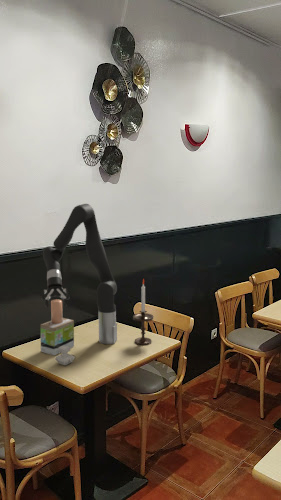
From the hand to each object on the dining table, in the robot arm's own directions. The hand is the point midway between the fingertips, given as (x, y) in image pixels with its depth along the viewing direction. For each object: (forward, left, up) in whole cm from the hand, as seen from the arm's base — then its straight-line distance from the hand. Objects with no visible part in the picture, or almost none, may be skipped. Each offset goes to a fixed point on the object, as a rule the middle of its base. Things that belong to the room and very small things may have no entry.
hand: (56, 306), depth 237 cm
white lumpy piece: (-11, +18, -22) cm, 31 cm away
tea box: (-1, +2, -22) cm, 22 cm away
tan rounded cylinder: (-1, +2, -7) cm, 8 cm away
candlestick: (-42, -17, -22) cm, 50 cm away
